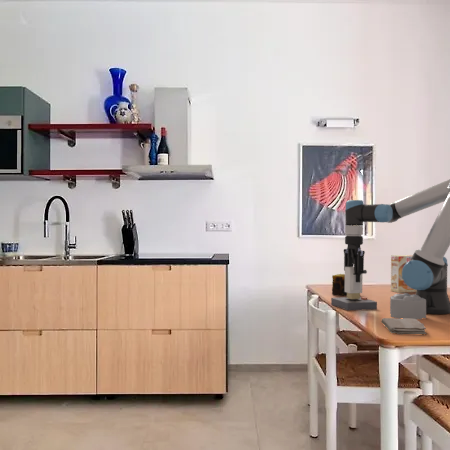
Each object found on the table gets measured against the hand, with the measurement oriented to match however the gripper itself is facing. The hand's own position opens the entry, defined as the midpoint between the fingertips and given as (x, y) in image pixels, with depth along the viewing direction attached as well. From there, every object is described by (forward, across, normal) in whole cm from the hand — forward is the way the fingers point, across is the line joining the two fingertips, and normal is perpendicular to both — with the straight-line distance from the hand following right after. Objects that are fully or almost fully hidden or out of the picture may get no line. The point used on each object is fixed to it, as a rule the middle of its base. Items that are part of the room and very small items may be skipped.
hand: (353, 288), depth 198 cm
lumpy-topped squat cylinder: (+8, -24, -10) cm, 27 cm away
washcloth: (+8, -41, +5) cm, 42 cm away
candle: (+8, +32, -14) cm, 36 cm away
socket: (+8, 0, 0) cm, 8 cm away
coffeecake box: (+8, +34, -52) cm, 63 cm away
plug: (+4, 0, -1) cm, 4 cm away
